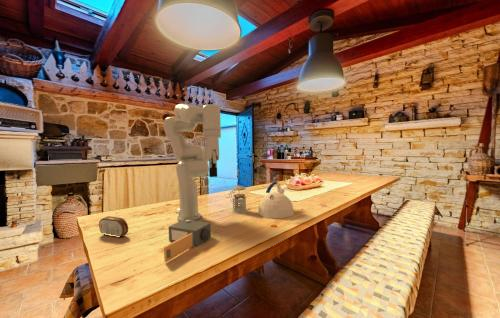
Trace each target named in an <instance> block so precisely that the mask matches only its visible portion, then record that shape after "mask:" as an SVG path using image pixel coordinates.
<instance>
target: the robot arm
mask: <svg viewBox="0 0 500 318" xmlns="http://www.w3.org/2000/svg"><path fill="white" fill-rule="evenodd" d="M173 113H174V116H168V117H166V118H164V120H163V130H164V134H165V135H166V138H167V139H168V141H169V142H170V144H171V148H172V151H173V153H174V154H173V155H174V158H175V160H176V161H177V162H178V163H177V164H176V167H175V172H176V175H177V180H178V181H177V182H178V192H179V195H178V196H179V199H178V200H179V208H177V209H176V211H175V214H178V216H177V221H178V222H180V221H182V220H184V219H186V220H193V221H198V220H199V219H201V218H202V214H201V213H200V212H199V204H198V203H199V202H198V201H199V199H198V185H197V183H196V182H195V181H194V178H201V177H206V176H207V175H208V174H209V175H208V176H209V177H210V178H217V177H218V161H219V160H220V141H219V139H221V138H222V131H221V130H222V129H221V124H222V123H221V108H220V106H219V105H218V104H211V103H209V104H204V105H203V106H199V105H196V104H188V103H179V104H177V105H175V107H174V109H173ZM198 125H202V136H203V137H202V138H203V139H204V140H205V141H204V142H205V143H204V145H205V146H204V149H203V148H202V146H201V145H198V144H188V142H187V139H186V138H185V137H184V135H182V134H181V132H184V133H185V132H186V133H189V132H193V131H194V130H195V129H196V128H197V126H198ZM204 150H205V151H204ZM208 162H209V164H208Z"/></svg>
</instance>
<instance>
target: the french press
mask: <svg viewBox="0 0 500 318" xmlns="http://www.w3.org/2000/svg"><path fill="white" fill-rule="evenodd" d="M236 172H237V174H238V175H237V176H238V179H240V174H239V172H241V170H240V169H237V170H236ZM246 189H247V188H246V187H245V186H242V185H237V186H234V187H232V190H231V191H230V192H229V196H228V197H229V198H230V199H232V200H230V202H231V203H232V210H231V213H232V214H236V215H242V214H246V213H248V212H249V209H247V198H246V195H245V194H244V193H237V194H233V193H235V192H236V191H238V192H240V191H245V190H246ZM232 195H233V196H232Z"/></svg>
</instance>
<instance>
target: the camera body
mask: <svg viewBox="0 0 500 318" xmlns="http://www.w3.org/2000/svg"><path fill="white" fill-rule="evenodd" d="M211 231H212V230H211V222H208V221H206V222H205V221H200V220H186V219H184V220H182V221H177V222H176V223H173V224H171V225H169V226H168V241H169V242H171V243H172V242H174V241H176V240H178V239H180V238H182V237H184V236H186V235H188V234H190V233H193V247H198V246H199V245H200V244H202V243H204V242H205V241H207V240H208V239H210V238H211V237H212V233H211Z"/></svg>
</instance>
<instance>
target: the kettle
mask: <svg viewBox="0 0 500 318" xmlns="http://www.w3.org/2000/svg"><path fill="white" fill-rule="evenodd" d="M274 186H276V192H274V191H273V192H271V190H272V189H273V187H274ZM265 193H267V194H266V195H265V196H263V197H262V198H261V200H260V202H259V204H258V210H257V214H258V215H259V216H261V217H262V218H266V219H273V218H274V220H275V219H276V220H277V219H286V218H290V217H292V216H293V215H294V214H295V212H294V205H293V203H292V201H291V199H290V198H289V197H288V196H286V195H285V189H284V188H282V186H281V183H279V181H273V182H272V183H270V184H269V186H268V187H267V189H266V191H265Z"/></svg>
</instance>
